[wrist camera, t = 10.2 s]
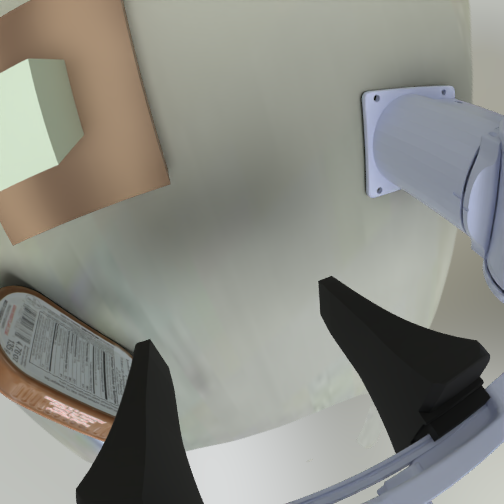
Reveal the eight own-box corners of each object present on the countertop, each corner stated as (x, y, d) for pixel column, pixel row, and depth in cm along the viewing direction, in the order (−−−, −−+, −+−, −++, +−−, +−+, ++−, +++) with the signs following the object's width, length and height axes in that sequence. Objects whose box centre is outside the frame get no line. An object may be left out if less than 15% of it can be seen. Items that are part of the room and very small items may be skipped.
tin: (-10, 284, 18) (-46, 373, 11) (7, 257, 17) (-34, 349, 10) (134, 374, 26) (144, 457, 20) (157, 358, 26) (171, 444, 19)
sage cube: (64, 59, 11) (27, 58, 7) (84, 134, 13) (58, 165, 9) (-5, 93, 10) (-57, 110, 6) (17, 163, 13) (-24, 204, 9)
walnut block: (119, -20, 11) (113, -35, 9) (167, 166, 18) (170, 184, 16) (-32, 55, 10) (-57, 57, 8) (27, 221, 17) (12, 245, 15)
